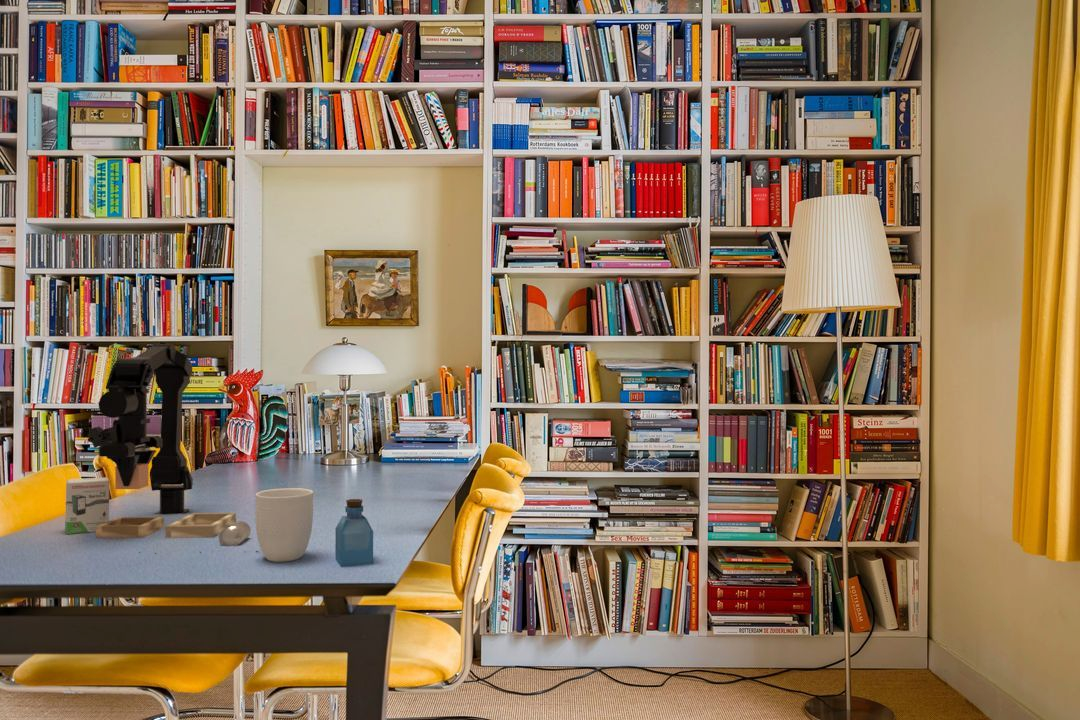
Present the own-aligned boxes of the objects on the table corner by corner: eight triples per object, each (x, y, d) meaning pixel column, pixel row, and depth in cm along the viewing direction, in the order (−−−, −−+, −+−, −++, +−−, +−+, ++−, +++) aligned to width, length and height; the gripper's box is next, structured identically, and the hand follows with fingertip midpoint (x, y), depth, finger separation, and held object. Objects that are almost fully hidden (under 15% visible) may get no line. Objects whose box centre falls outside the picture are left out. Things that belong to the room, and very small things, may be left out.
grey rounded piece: (229, 521, 171) (250, 520, 172) (230, 542, 171) (251, 540, 172) (218, 528, 164) (239, 527, 165) (219, 549, 164) (240, 548, 165)
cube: (125, 485, 179) (125, 463, 179) (148, 485, 179) (148, 463, 179) (115, 489, 174) (115, 466, 174) (138, 489, 174) (138, 466, 174)
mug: (237, 553, 160) (238, 489, 160) (289, 545, 168) (289, 484, 168) (269, 568, 149) (270, 499, 149) (323, 558, 157) (323, 492, 157)
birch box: (192, 525, 187) (192, 513, 187) (236, 525, 187) (236, 512, 187) (165, 540, 171) (165, 526, 171) (213, 540, 172) (213, 526, 172)
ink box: (65, 534, 176) (65, 482, 176) (64, 530, 181) (65, 479, 181) (109, 530, 181) (109, 479, 181) (107, 526, 185) (108, 476, 185)
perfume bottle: (340, 566, 150) (341, 504, 150) (335, 559, 156) (335, 498, 156) (373, 563, 153) (373, 502, 153) (366, 556, 159) (367, 496, 159)
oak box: (118, 530, 181) (118, 517, 181) (163, 529, 182) (163, 516, 182) (95, 540, 171) (95, 526, 171) (143, 539, 172) (143, 526, 172)
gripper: (115, 411, 185) (114, 478, 185) (73, 417, 167) (72, 491, 167) (163, 411, 186) (163, 477, 186) (127, 417, 167) (126, 491, 167)
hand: (131, 484), depth 177 cm, fingers closed on cube, 5 cm apart
